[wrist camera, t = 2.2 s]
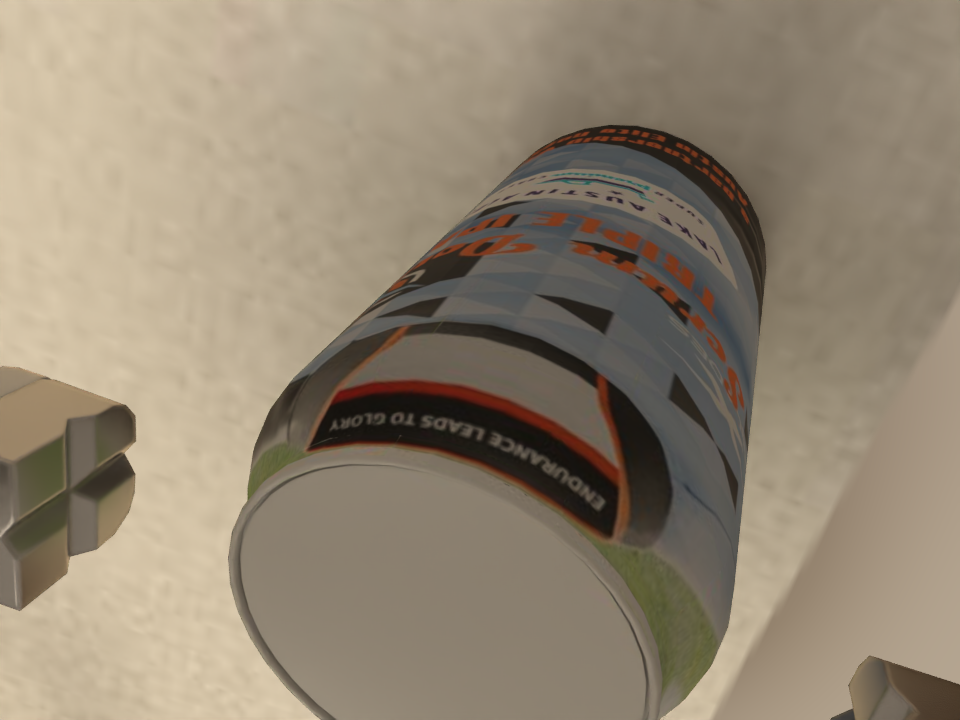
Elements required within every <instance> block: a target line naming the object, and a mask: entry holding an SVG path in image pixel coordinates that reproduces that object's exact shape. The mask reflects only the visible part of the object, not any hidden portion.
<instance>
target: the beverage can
mask: <svg viewBox="0 0 960 720" xmlns="http://www.w3.org/2000/svg"><path fill="white" fill-rule="evenodd" d="M765 276H766V255H765V243H764V239H763V235H762V231H761V227H760V224H759V220H758V217H757V215H756V213H755V211H754V209H753V207H752V205H751V203H750V201H749V199H748V197H747V195H746V194H745V192H744V191H743V190H742V188H741V187H740V186H739V184H738V183H737V182H736V180H735V179H734V178H733V176H732V175H731V174H730V173H729V172H728V171H727V170H726V169H725V168H724V167H722V166H721V165H720V164H719V163H718V162H717V161H716V160H715V159H714V158H713V157H712V156H710V155H709V154H707V153H705V152H704V151H702V150H701V149H699V148H698V147H696V146H694V145H693V144H691V143H690V142H688V141H685V140H683V139H680V138H678V137H675V136H673V135H671V134H668V133H666V132H663V131H658V130H654V129H649V128H644V127H639V126H623V125H608V126H601V127H594V128H587V129H583V130H580V131H577V132H574V133H571V134H568V135H565V136H562V137H560V138H558V139H556V140H554V141H552V142H551V143H549V144H547V145H545V146H544V147H542V148H540V149H538V150H537V151H536V152H535V153H534V154H532V155H531V156H530V157H529V158H528V159H526V160H525V161H524V162H523V163H522V164H520V165H519V166H518V167H517V168H516V169H515V170H514V171H513V172H512V173H511V174H510V175H509V176H508V177H507V178H506V179H505V180H503V181H502V182H501V183H500V184H499V185H498V186H497V187H496V188H495V189H494V190H493V191H492V192H491V193H490V194H489V195H488V196H486V197H485V198H484V199H483V200H482V201H481V202H480V203H479V204H478V205H477V206H476V207H475V208H474V209H473V210H472V211H471V212H469V213H468V214H467V215H466V216H465V217H464V218H463V219H462V220H461V221H460V222H459V223H458V224H457V225H456V226H455V227H454V228H452V229H451V230H450V231H449V232H448V233H447V234H446V235H445V236H444V237H443V238H442V239H441V240H440V241H439V242H438V243H437V244H436V245H434V246H433V247H432V248H431V249H430V250H429V251H428V252H427V253H426V254H425V255H424V256H423V257H422V258H421V259H420V260H419V261H417V262H416V263H415V264H414V265H413V266H412V267H411V268H410V269H409V270H408V271H407V272H406V273H405V274H404V275H403V276H402V277H400V278H399V279H398V280H397V281H396V282H395V283H394V284H393V285H392V286H391V287H390V288H389V289H388V290H387V291H386V292H385V293H383V294H382V295H381V296H380V297H379V298H378V299H377V300H376V301H375V302H374V303H373V304H372V305H371V306H370V307H369V308H368V309H366V310H365V311H364V312H363V313H362V314H361V315H360V316H359V317H358V318H357V319H356V320H355V321H354V322H353V323H352V324H351V325H349V326H348V327H347V328H346V329H345V330H344V331H343V332H342V333H341V334H340V335H339V336H338V337H337V338H336V339H335V340H334V341H333V342H331V343H330V344H329V345H328V346H327V347H326V348H325V349H324V350H323V351H322V352H321V353H320V354H319V355H318V356H317V357H316V358H314V359H313V360H312V361H311V362H310V363H309V364H308V365H307V366H306V367H305V368H304V369H303V370H302V371H301V372H300V373H299V374H297V375H296V376H295V377H294V378H293V380H292V381H291V382H290V383H289V385H288V386H287V387H286V389H285V390H284V391H283V393H282V394H281V395H280V397H279V398H278V399H277V401H276V402H275V403H274V405H273V406H272V408H271V409H270V411H269V413H268V415H267V418H266V420H265V422H264V425H263V427H262V430H261V432H260V434H259V437H258V439H257V442H256V444H255V448H254V451H253V457H252V464H251V470H250V476H249V483H248V501H247V502H246V504H245V505H244V506H243V508H242V510H241V512H240V515H239V517H238V519H237V522H236V524H235V526H234V529H233V531H232V536H231V543H230V549H229V556H228V561H229V574H230V585H231V588H232V592H233V596H234V599H235V603H236V606H237V610H238V613H239V615H240V617H241V619H242V621H243V623H244V626H245V628H246V630H247V632H248V634H249V636H250V638H251V640H252V641H253V643H254V645H255V646H256V648H257V649H258V651H259V652H260V654H261V656H262V657H263V659H264V660H265V662H266V663H267V665H268V666H269V667H270V668H271V669H272V671H273V672H274V673H275V674H276V676H277V677H278V678H279V679H280V680H281V682H282V683H283V684H284V685H285V687H286V688H287V689H288V690H289V691H290V692H291V693H292V694H293V695H294V696H295V697H296V698H297V699H298V700H299V701H300V702H301V703H302V704H303V705H305V706H306V707H307V708H308V709H309V710H310V711H311V712H312V713H313V714H314V715H316V716H317V717H318V718H319V719H321V720H659V719H661V718H662V717H663V716H665V715H666V714H667V713H669V712H670V711H671V710H672V709H674V708H675V707H676V706H678V705H679V704H680V703H681V702H682V701H683V700H684V699H685V698H686V697H687V696H688V695H689V693H690V692H691V691H692V690H693V688H694V687H695V686H696V684H697V683H698V682H699V681H700V679H701V678H702V677H703V676H704V674H705V673H706V672H707V671H708V669H709V668H710V666H711V665H712V663H713V661H714V658H715V656H716V654H717V651H718V649H719V647H720V644H721V642H722V640H723V637H724V635H725V633H726V630H727V628H728V624H729V618H730V612H731V605H732V598H733V591H734V583H735V573H736V563H737V553H738V543H739V533H740V524H741V514H742V504H743V494H744V484H745V474H746V464H747V454H748V444H749V434H750V424H751V415H752V405H753V395H754V385H755V375H756V365H757V355H758V345H759V335H760V325H761V316H762V306H763V296H764V286H765Z"/></svg>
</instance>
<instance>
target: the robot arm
mask: <svg viewBox="0 0 960 720" xmlns="http://www.w3.org/2000/svg"><path fill="white" fill-rule="evenodd" d="M135 442H136V419H135V415H134V414H133V412H132V411H131V410H130V409H129V408H128V407H127V406H126V405H124V404H121V403H118V402H116V401H113V400H110V399H107V398H104V397H102V396H99V395H96V394H93V393H91V392H88V391H85V390H82V389H79V388H77V387H74V386H71V385H68V384H66V383H63V382H60V381H57V380H52V379H50V378H48V377H46V376H43V375H40V374H37V373H34V372H31V371H28V370H25V369H22V368H19V367H7V366H2V367H0V604H2V605H5V606H7V607H10V608H13V609H16V610H19V611H20V610H22V609H23V608H24V607H25V606H27V605H28V604H29V603H30V602H32V601H33V600H34V599H35V598H37V597H38V596H39V595H40V594H42V593H43V592H44V591H45V590H47V589H48V588H49V587H50V586H52V585H53V584H54V583H55V582H57V581H58V580H59V579H61V578H62V577H63V576H64V575H66V574H67V572H68V566H69V560H70V557H71V556H74V555H78V554H82V553H85V552H89V551H93V550H96V549H98V548H99V547H100V546H101V545H102V544H104V543H105V542H106V541H107V540H108V539H110V538H111V537H112V536H113V535H114V534H115V533H116V531H117V530H118V528H119V527H120V525H121V524H122V522H123V521H124V519H125V517H126V516H127V514H128V513H129V510H130V507H131V503H132V500H133V496H134V493H135V473H134V471H133V469H132V467H131V465H130V463H129V461H128V460H127V458H126V456H125V454H124V453H125V452H126V451H127V450H128V449H129V448H130V447H131V446H132V445H133V444H134V443H135ZM848 686H849V690H850V696H851V700H852V705H853V709H851V710H848V711H846V712H844V713H841V714H839V715H837V716H835V717H832V718H831V719H830V720H960V685H959V684H956V683H953V682H950V681H947V680H944V679H941V678H937V677H935V676H931V675H929V674H925V673H922V672H919V671H916V670H913V669H910V668H906V667H904V666H901V665H897V664H895V663H891V662H888V661H885V660H882V659H879V658H876V657H873V656H869V657H867V659H865V660H864V661H863V662H862V663H861V664H860V665H859V666H858V668H857V670H856V672H855V674H854V676H853V677H852V679H851V681H850V683H849V685H848Z"/></svg>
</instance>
